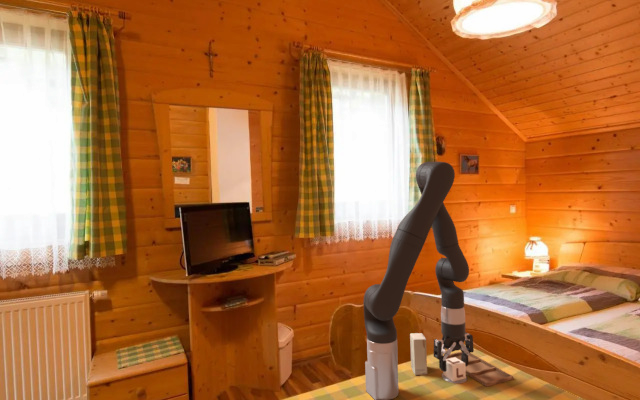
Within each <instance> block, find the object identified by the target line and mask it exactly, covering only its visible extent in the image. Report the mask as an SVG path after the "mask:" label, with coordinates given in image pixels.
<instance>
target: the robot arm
mask: <svg viewBox="0 0 640 400" xmlns="http://www.w3.org/2000/svg"><path fill="white" fill-rule="evenodd" d="M455 175H456V174H455V169H454V167H453V166H452V165H451V164H450V163H449V162H446V161H425V162H422V163H420V164H419V166H418V167H417V168H416V171H415V181H416V184H417V186H418V190H419V191H420V194H421V196H420V198H419V200H418V201H417V203H416V204H415V205H414V206H413V208H412V209H411V210H410V211H408V213H407V214H406V215H405V216H404V217H403V218H402V220H401V221H400V223H399V224H398V226H397V228H396V230H395V233H394V234H393V238H392V240H391V244H390V247H389V254H388V262H387V267H386V271H385V274H384V277H383V279H382V281H381V283H375V284H372V285H370V286H369V287H368V288H367V289H366V290H365V292H364V295H363V317H364V327H365V331H366V353H367V354H366V355H367V360H365V362H364V365H365V367H364V368H365V369H364V370H365V371H364V372H365V374H364V375H365V391H366V392H367V394H368V395H369V396H370V397H372V398H373V399H374V400H393V399H395V398H396V397H397V396H398V395H399V367H398V366H399V365H398V364H399V363H398V362H399V361H398V333H397V332H398V331H397V328H396V324H395V322H394V317H395V316H396V315H397V314H398V312H399V310H400V306H401V304H402V300H403V297H404V294H405V290H406V288H407V285H408V282H409V279H410V276H411V275H412V272H413V270H414V267H415V265H416V263H417V260H418V258H419V256H420V255H421V252H422V250H423V248H424V245H425V243H426V240H427V238H428V235H429V233H430V231H431V229H432V234H433V237H434V243H435V248H436V250H437V252H438V254H440V255H442V256H444V257H441V258H440V259H438V260H437V262H436V264H435V277H436V280H437V284H438V288H439V290H440V293H441V298H440V299H441V300H440V301H441V309H440V326H441V329H440V330H441V335H442V338H441V339H437V338H435V339H433V357H434V358H436V359H437V360H438V363H439V365H438V366H439V369H440V370H441V371H442V372H443V371H444V372H445V371H446V358H447V356H448V355H450V354H452V353H453V352H455V351H460V352H462V353H461V361H463V362H464V363H465V366H468V355H469V353H474V349H475V348H474V337H473V334H471V333H468V332H466V311H465V294H464V290H463V288H461V287H458V286H457V285H456V284H455V282H456V283H464V282H465V281H466V280H467V279H468V277H469V274H470V267H469V264H468V261H467V259H466V256H465V255H464V253H463V251H462V248H461V247H460V244H459V240H458V233H457V230H456V226H455V225H456V224H455V223H454V221H453V219H452V217H451V215H450V213H449V211H448V209H447V207H446V205H445V204H444V201H445V200H446V198H447V196H448V194H449V193H450V190H451V189H452V187H453V184H454V182H455ZM464 342H465V344H464Z"/></svg>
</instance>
